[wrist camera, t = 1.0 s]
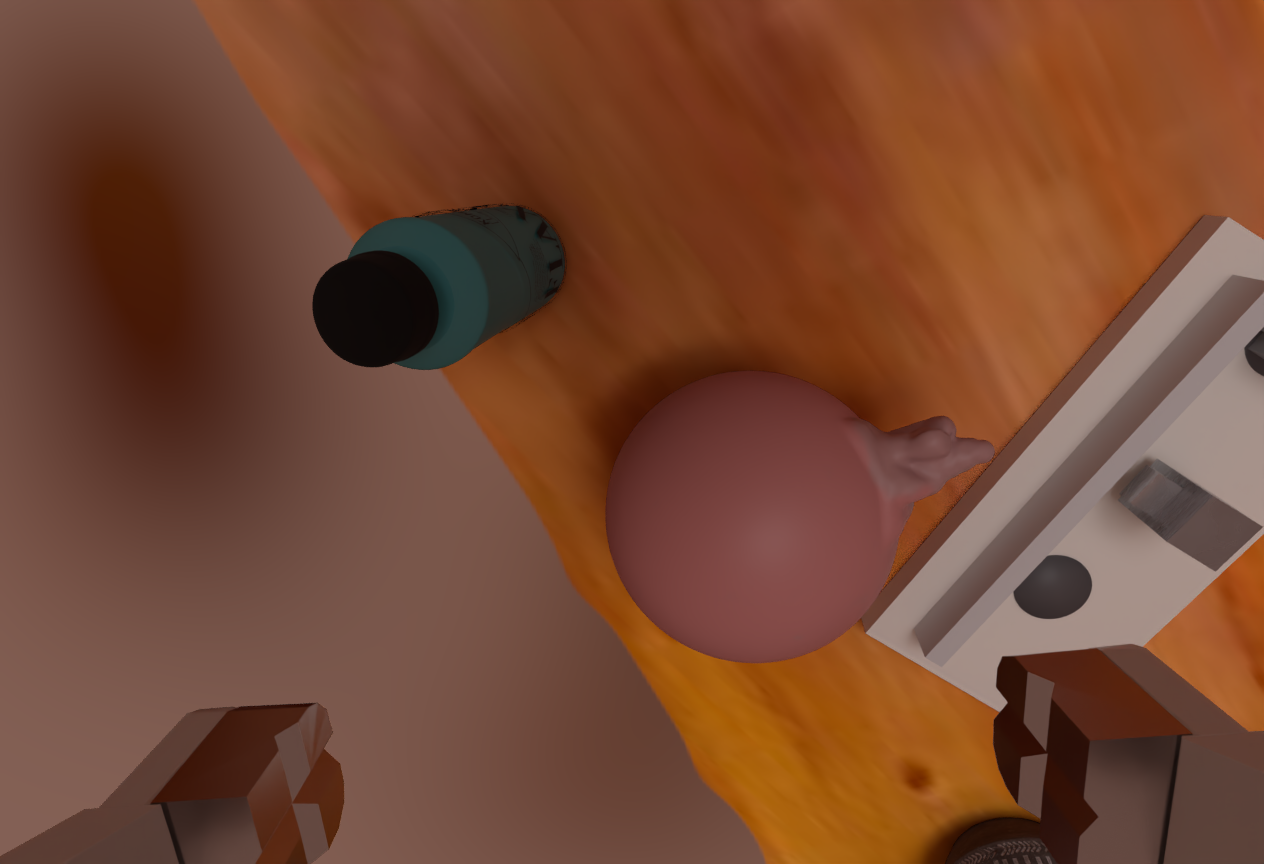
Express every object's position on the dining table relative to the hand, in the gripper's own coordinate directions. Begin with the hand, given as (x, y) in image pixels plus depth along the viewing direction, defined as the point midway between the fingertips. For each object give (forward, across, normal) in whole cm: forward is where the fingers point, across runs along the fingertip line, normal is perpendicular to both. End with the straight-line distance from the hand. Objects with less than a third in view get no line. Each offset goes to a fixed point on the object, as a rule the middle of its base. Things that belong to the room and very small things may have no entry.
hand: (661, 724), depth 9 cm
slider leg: (+31, -28, +10) cm, 43 cm away
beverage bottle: (+38, +7, -5) cm, 39 cm away
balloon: (+36, -8, +8) cm, 38 cm away
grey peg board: (+34, -28, +12) cm, 45 cm away
